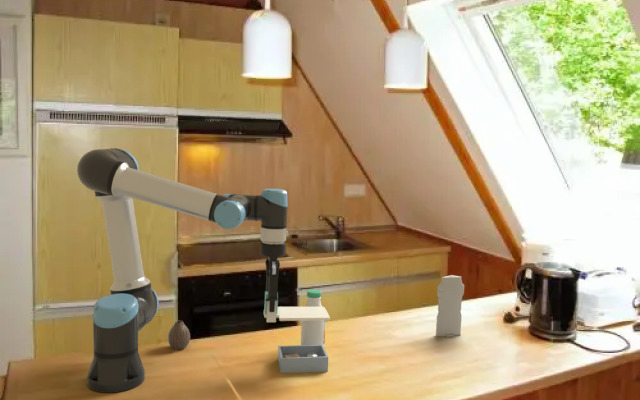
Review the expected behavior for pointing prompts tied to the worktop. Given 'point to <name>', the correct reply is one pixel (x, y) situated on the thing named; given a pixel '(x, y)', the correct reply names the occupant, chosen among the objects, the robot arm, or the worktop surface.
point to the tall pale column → (449, 306)
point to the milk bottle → (313, 323)
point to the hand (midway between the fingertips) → (270, 318)
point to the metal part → (312, 355)
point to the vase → (179, 336)
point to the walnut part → (291, 355)
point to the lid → (298, 312)
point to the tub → (302, 359)
